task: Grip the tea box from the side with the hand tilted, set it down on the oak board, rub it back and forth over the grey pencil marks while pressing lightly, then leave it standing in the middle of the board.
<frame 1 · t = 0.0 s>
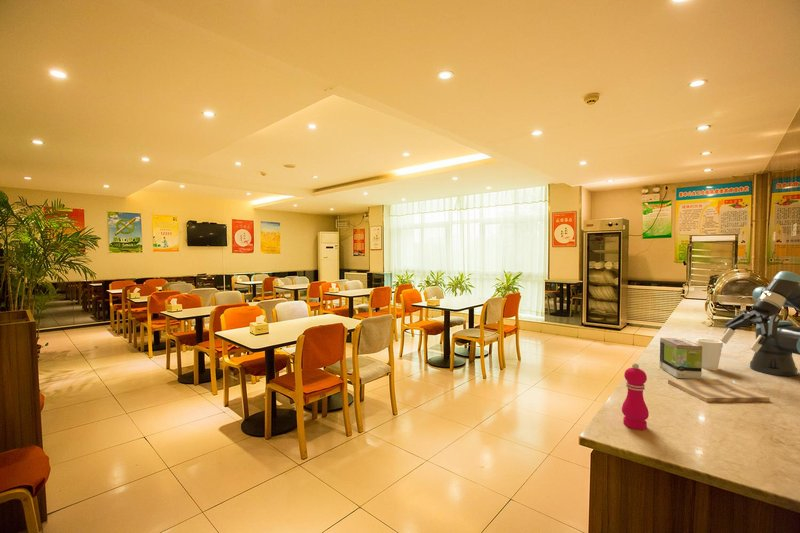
hand: (737, 345, 151), 15 cm above the counter, tool tilted 35°, fingers open, 13 cm apart
pepper mill: (634, 425, 115), on the counter
oak board: (715, 391, 141), on the counter
tea box: (679, 373, 163), on the counter
foam cup: (708, 368, 170), on the counter
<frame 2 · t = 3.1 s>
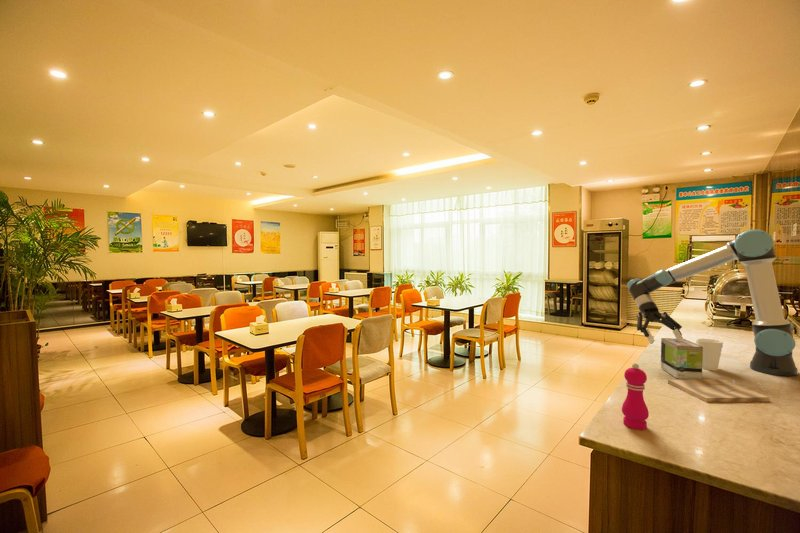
hand: (667, 342, 169), 12 cm above the counter, tool tilted 45°, fingers open, 13 cm apart
tea box: (680, 374, 162), on the counter, touching gripper
everything else where it was.
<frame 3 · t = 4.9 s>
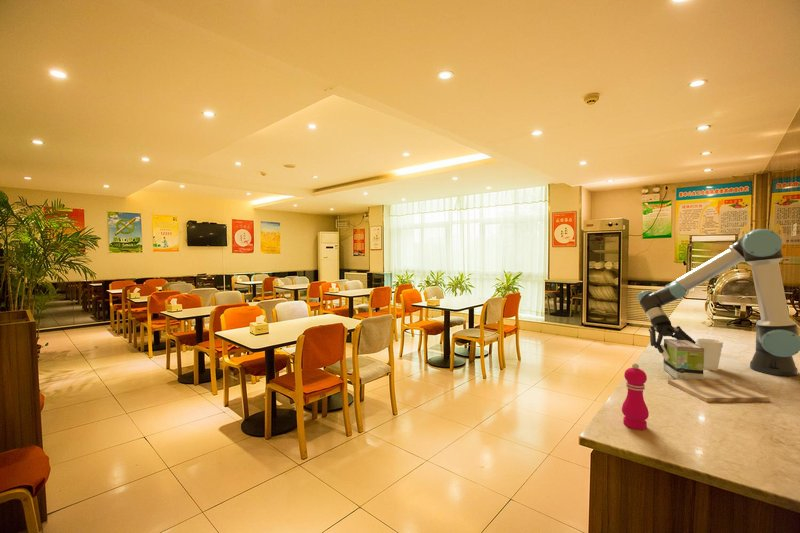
hand: (682, 359, 161), 7 cm above the counter, tool tilted 45°, fingers closed on tea box, 12 cm apart
tea box: (682, 376, 160), on the counter, touching gripper
everything else where it was.
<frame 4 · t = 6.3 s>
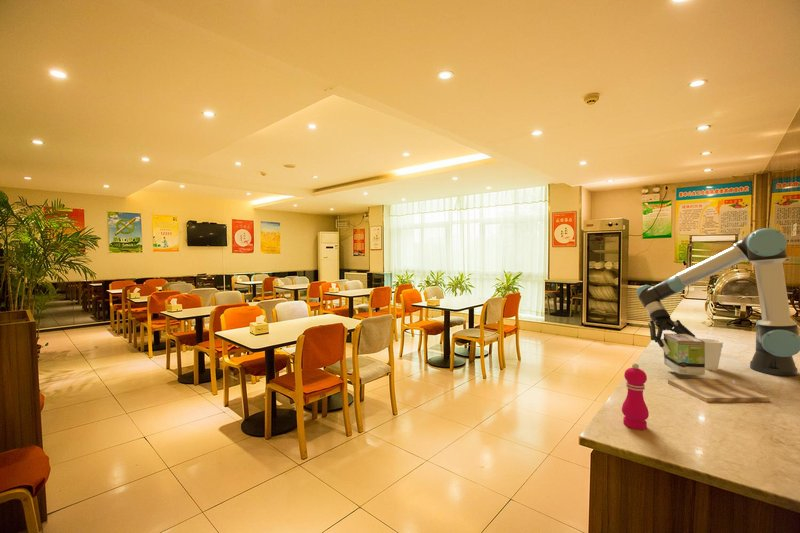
hand: (682, 352, 161), 10 cm above the counter, tool tilted 45°, fingers closed on tea box, 12 cm apart
tea box: (683, 370, 160), point 2 cm above the counter, touching gripper
everything else where it was.
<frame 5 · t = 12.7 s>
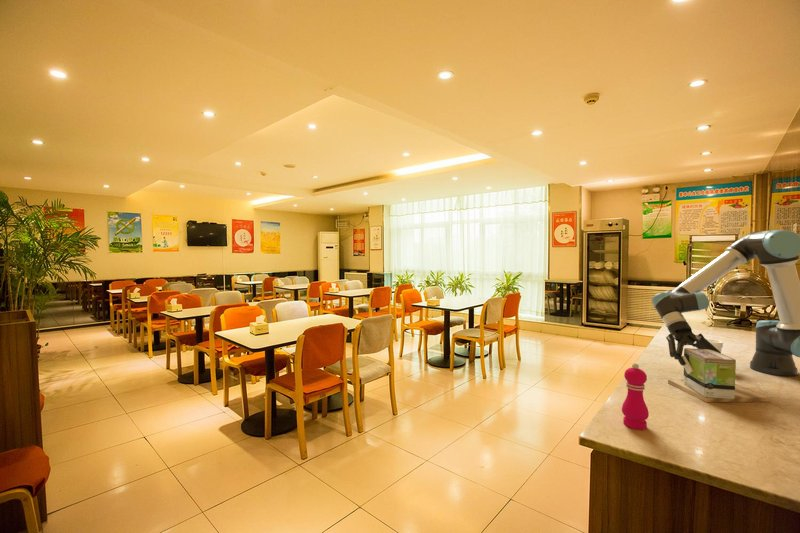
hand: (706, 372, 139), 8 cm above the counter, tool tilted 45°, fingers closed on tea box, 11 cm apart
tea box: (707, 391, 138), point 1 cm above the counter, touching gripper, oak board
everything else where it was.
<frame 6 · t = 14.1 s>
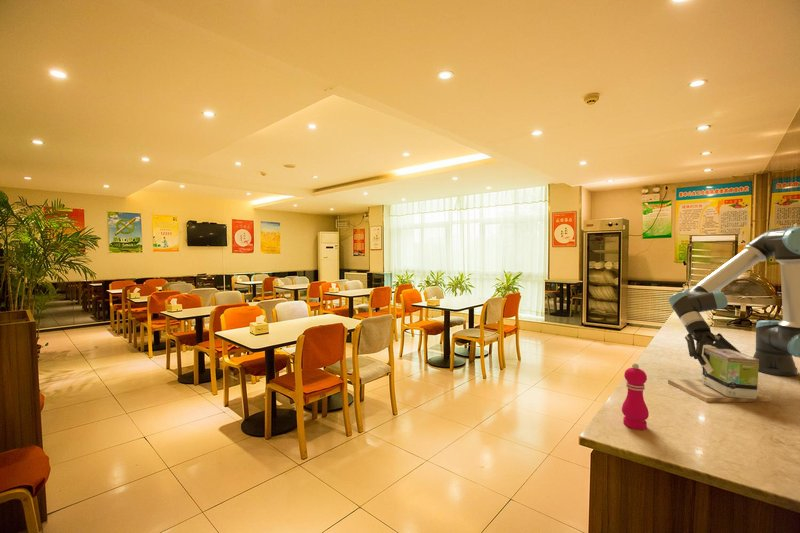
hand: (727, 372, 139), 8 cm above the counter, tool tilted 45°
tea box: (727, 391, 138), point 1 cm above the counter, touching gripper
everything else where it was.
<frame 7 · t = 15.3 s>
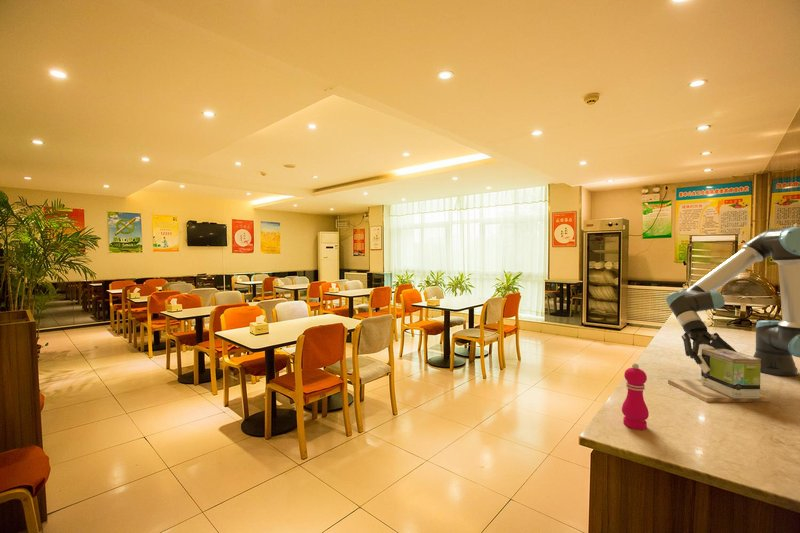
hand: (723, 371, 139), 9 cm above the counter, tool tilted 45°, fingers open, 12 cm apart
tea box: (728, 391, 138), point 1 cm above the counter, touching gripper, oak board
everything else where it was.
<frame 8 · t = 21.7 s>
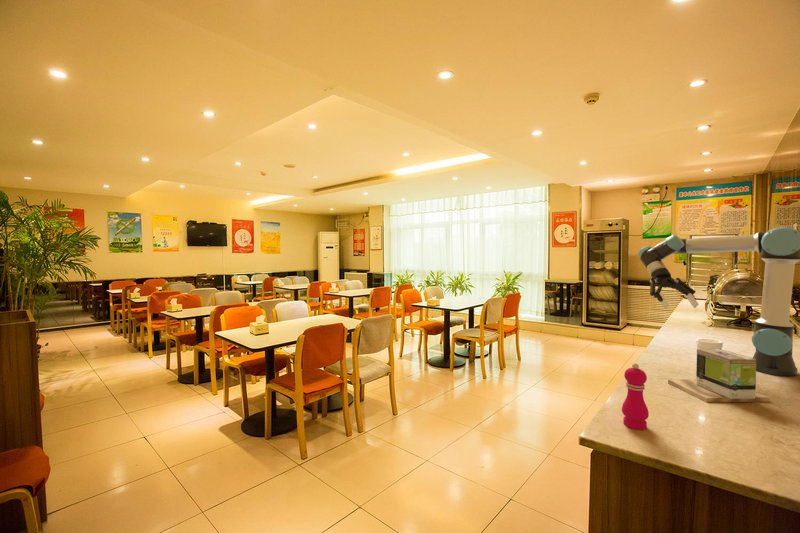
hand: (681, 306, 166), 30 cm above the counter, tool tilted 45°, fingers open, 13 cm apart
tea box: (724, 392, 138), point 1 cm above the counter, touching oak board
everything else where it was.
at the end: tea box inside the target area on the oak board (3.7 cm from its centre), point 1.3 cm above the oak board's base; tea box tilted 0°; the gripper is holding nothing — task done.
